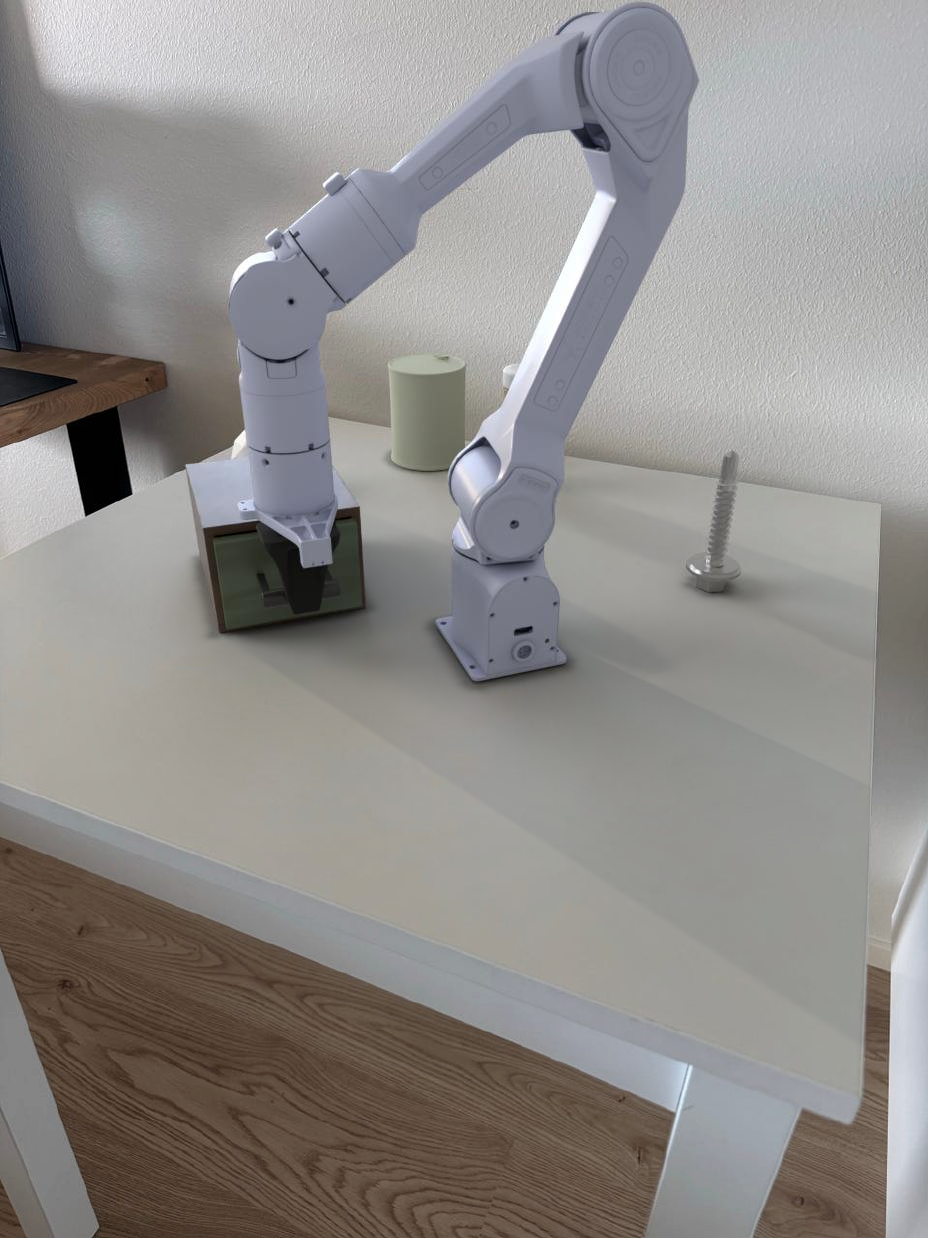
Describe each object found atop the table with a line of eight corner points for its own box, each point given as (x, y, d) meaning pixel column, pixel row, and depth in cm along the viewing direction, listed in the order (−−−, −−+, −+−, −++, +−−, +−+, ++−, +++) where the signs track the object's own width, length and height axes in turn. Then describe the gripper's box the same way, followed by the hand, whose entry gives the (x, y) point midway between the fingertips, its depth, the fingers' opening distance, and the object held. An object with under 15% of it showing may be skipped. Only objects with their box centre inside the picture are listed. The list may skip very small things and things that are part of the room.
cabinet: (366, 607, 79) (360, 506, 74) (219, 633, 75) (202, 528, 70) (328, 539, 91) (321, 448, 86) (200, 558, 87) (185, 464, 82)
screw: (740, 578, 84) (734, 602, 80) (688, 569, 85) (679, 593, 82) (764, 444, 77) (759, 463, 73) (707, 437, 79) (698, 455, 75)
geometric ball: (254, 513, 103) (213, 453, 102) (312, 476, 105) (272, 416, 104) (261, 504, 96) (217, 439, 94) (323, 465, 98) (281, 401, 97)
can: (479, 453, 112) (481, 355, 106) (440, 476, 106) (439, 374, 99) (417, 439, 116) (415, 345, 110) (376, 462, 110) (371, 362, 103)
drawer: (376, 633, 74) (372, 547, 70) (235, 659, 70) (221, 570, 66) (327, 541, 88) (321, 466, 84) (208, 559, 85) (195, 481, 81)
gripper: (217, 415, 67) (240, 576, 74) (245, 485, 56) (269, 669, 63) (310, 405, 69) (324, 563, 76) (357, 470, 58) (368, 650, 65)
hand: (305, 610), depth 70 cm, fingers closed
